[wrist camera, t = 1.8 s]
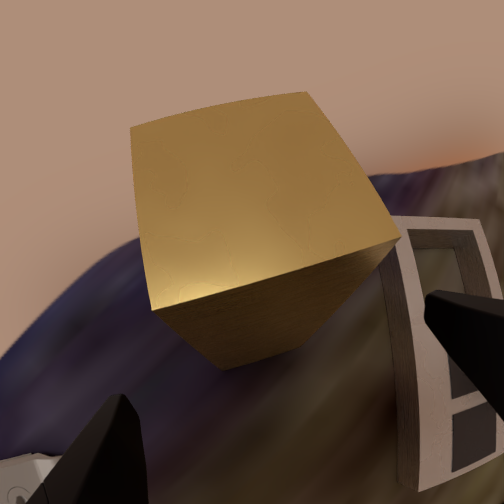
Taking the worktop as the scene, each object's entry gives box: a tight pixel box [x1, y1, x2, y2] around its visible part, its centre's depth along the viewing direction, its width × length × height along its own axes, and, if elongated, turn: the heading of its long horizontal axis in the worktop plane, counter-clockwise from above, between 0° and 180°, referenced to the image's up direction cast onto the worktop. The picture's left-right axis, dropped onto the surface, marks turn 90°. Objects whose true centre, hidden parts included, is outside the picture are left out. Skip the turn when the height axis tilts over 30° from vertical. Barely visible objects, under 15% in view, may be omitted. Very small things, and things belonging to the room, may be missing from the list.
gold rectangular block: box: [130, 92, 402, 371], centre depth 13 cm, size 5×5×14 cm
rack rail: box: [379, 216, 504, 492], centre depth 16 cm, size 18×9×3 cm, turn 1°
